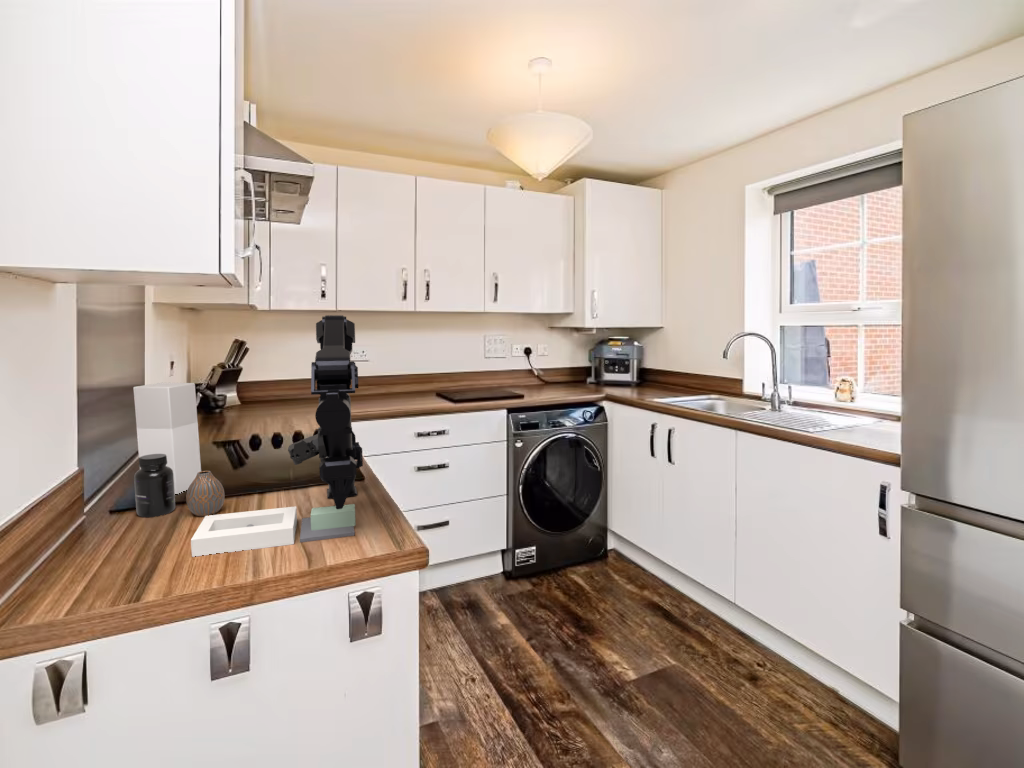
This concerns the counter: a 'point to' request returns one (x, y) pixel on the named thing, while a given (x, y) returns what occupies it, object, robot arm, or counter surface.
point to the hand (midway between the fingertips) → (338, 501)
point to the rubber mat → (323, 532)
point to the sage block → (332, 517)
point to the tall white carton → (169, 428)
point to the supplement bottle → (154, 486)
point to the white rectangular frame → (245, 531)
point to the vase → (205, 494)
